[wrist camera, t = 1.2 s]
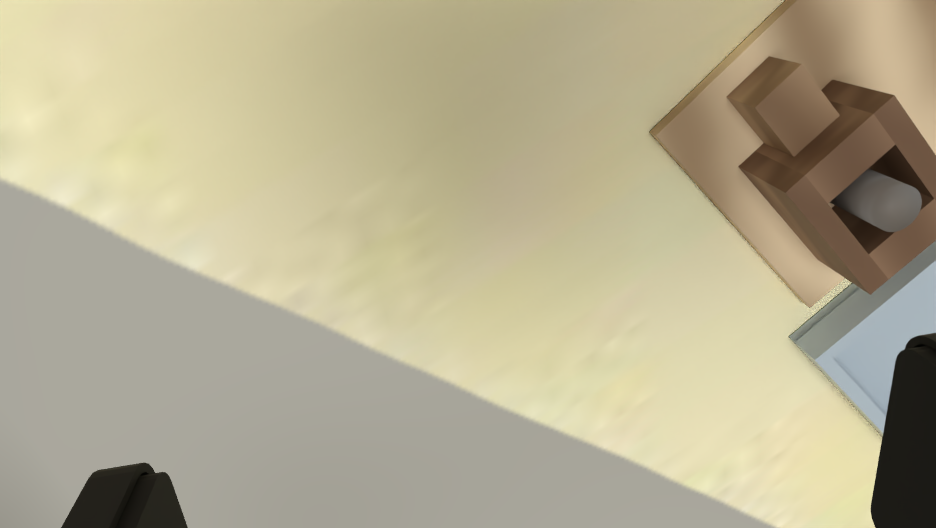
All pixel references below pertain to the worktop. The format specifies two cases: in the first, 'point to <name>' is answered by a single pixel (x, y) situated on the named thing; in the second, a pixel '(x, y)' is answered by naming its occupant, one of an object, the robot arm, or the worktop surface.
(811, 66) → the stake board
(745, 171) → the collar
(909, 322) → the tray
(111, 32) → the worktop surface
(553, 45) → the worktop surface
